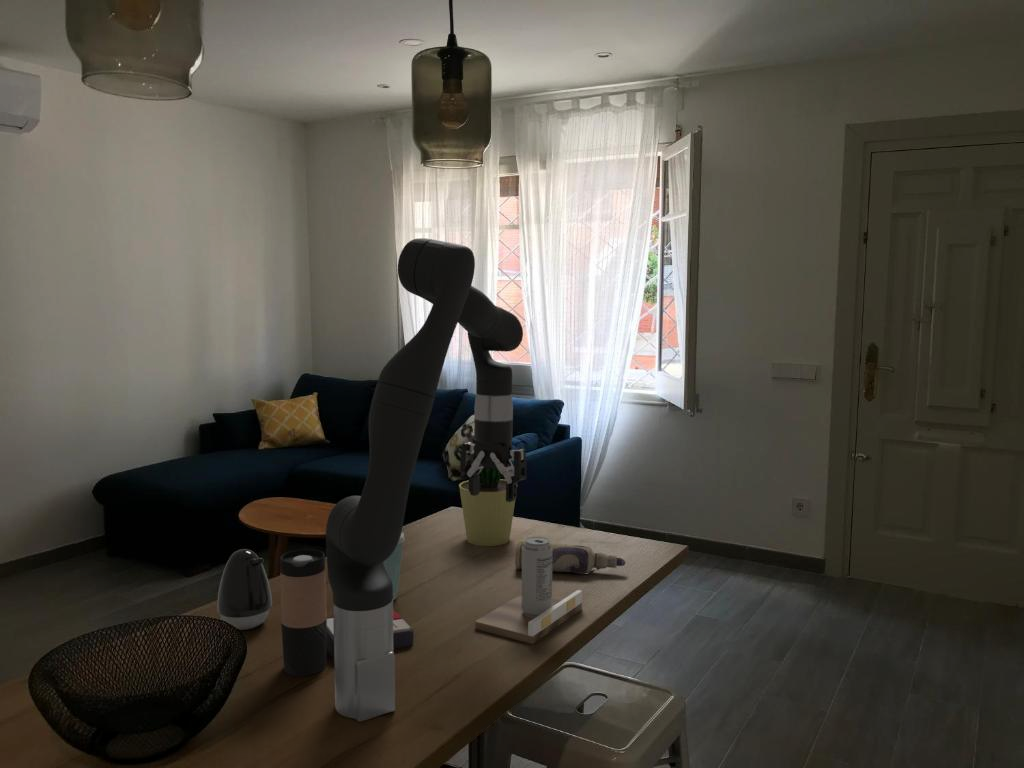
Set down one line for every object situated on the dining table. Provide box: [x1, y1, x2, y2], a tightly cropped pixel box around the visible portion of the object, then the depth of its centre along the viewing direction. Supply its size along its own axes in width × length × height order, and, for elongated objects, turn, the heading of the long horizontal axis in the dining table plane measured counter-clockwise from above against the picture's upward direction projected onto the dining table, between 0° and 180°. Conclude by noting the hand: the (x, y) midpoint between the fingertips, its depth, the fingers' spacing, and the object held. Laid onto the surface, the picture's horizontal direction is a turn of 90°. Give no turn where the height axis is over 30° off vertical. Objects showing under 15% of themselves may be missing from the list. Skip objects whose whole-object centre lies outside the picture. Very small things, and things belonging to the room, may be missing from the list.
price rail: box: [528, 589, 583, 637], centre depth 160 cm, size 20×1×2 cm, turn 148°
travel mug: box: [279, 548, 328, 677], centre depth 141 cm, size 8×8×20 cm
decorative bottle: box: [514, 540, 626, 575], centre depth 192 cm, size 26×8×7 cm, turn 80°
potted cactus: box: [458, 439, 517, 547], centre depth 215 cm, size 15×15×30 cm
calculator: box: [326, 609, 414, 661], centre depth 153 cm, size 11×4×15 cm
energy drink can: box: [521, 536, 553, 618], centre depth 162 cm, size 6×6×15 cm
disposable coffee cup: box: [383, 530, 405, 601], centre depth 174 cm, size 11×11×15 cm
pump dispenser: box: [216, 548, 273, 631], centre depth 159 cm, size 10×10×15 cm
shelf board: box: [474, 593, 583, 645], centre depth 164 cm, size 20×13×2 cm, turn 148°
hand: (492, 498), depth 161 cm, fingers open, 8 cm apart
